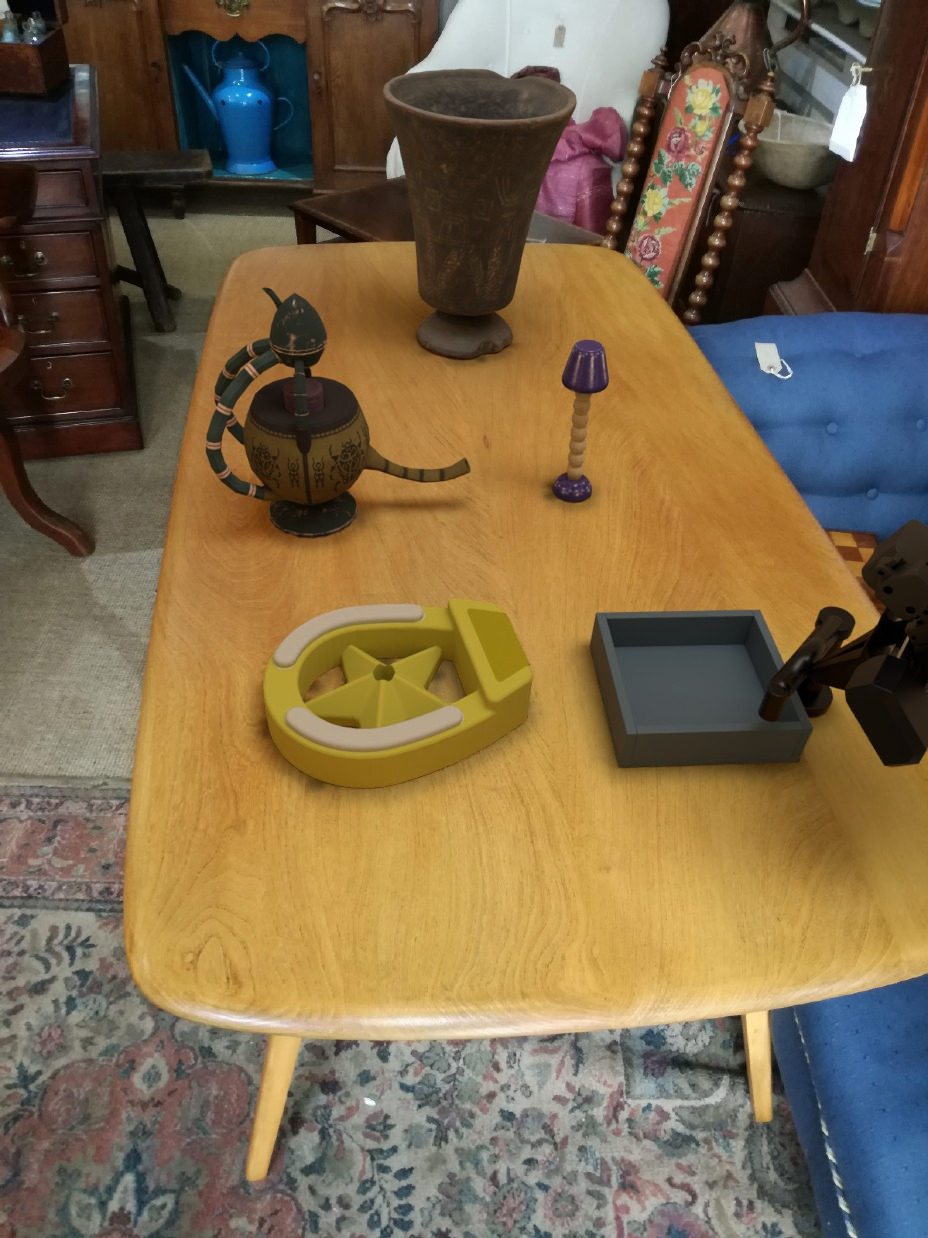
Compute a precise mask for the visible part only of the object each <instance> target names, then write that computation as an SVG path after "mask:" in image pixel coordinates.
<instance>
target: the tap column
mask: <svg viewBox="0 0 928 1238" xmlns="http://www.w3.org/2000/svg"><path fill="white" fill-rule="evenodd" d="M843 644H844V641H836V642H835V643H834V644H833V645H832V647H831V648H830V649H829V650H828V652H827V653H826V654H825V655H824V656H823V658H824V657H825V656H827V655H829V654H831V653H832V652H834V651H836V650H838V649H839V648H841V647H842V646H843ZM796 691H797V693H798V695H799V697H800V700H801V702H802V704H803V706H804V709H805V711H806V713H807V715H808V718H815V717H816V718H817V717H820V716H822V715H824V714H825V713H827V712H828V710H829V709H830V706H831V704H832V702H833V700H834V694H833V691H832V687H830V686H826V685H823V684H819V683H816V682H814V681H813V680H812V679H811V677H810V675H808V676H807V677H806V678H805V680H804V681H803V682H802V683H801V685H800V686H799V687H798V688H797V689H796Z"/></svg>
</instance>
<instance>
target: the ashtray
mask: <svg viewBox="0 0 928 1238" xmlns="http://www.w3.org/2000/svg"><path fill="white" fill-rule="evenodd" d="M393 658H394V659H395V658H396V659H397V658H401V659H399V660H397V661H395V662H392V663H390V664H385V663H383V662H382V661H380V660H379V659H393ZM443 660H445V661H446V660H447V661H452V662H453V665H454V667H455V671H456V672H457V675H458V678H459V681H460V683H461V685H462V688H463V690H464V693H465V696H464V697H462V698H460V699H458V700H456V701H455V702H451V703H448V702H447V701H445V700H444V699H442V698H440V697H438V696H437V695H435V694H434V693H432V692H430V691H429V690H428V688H429V686H430V684H431V682H432V680H433V679H434V677H435V675H436V673H437V671H438V669H439V667H440V665H441V663H442V661H443ZM529 661H530V660H529V659H528V657H527V655H526V653H525V650H524V648H523V647H522V644H521V641H520V639H519V638H518V635H517V634H516V631H515V629H514V627H513V625H512V623H511V620H510V619H509V616H508V615H507V613H506V612H505V611H504V609H503V608H502V607H501V606H500V605H499V604H497V603H495V602H491V601H490V602H489V601H482V600H481V601H480V600H474V599H466V598H461V597H460V598H458V597H452V598H450V599H449V600H448V601H447V607H444V606H443V607H442V606H427V605H418V604H416V603H384V604H380V603H379V604H366V605H355V606H354V605H353V606H347V607H343V608H342V607H341V608H338V609H334V610H330V611H327V612H324V613H322V614H319V615H317V616H315V617H312V618H311V619H308V620H307V621H305V622H303V623H302V624H301V625H299V626H298V627H296V628H295V629H293V631H292V632H290V633H289V634H288V635H287V636H286V637H285V638H284V639H283V640H282V641H281V642H280V644H279V645H277V647H276V648H275V649H274V651H273V652H272V654H271V656H270V658H269V660H268V662H267V663H266V666H265V670H264V672H263V678H262V693H263V702H264V707H265V715H266V719H267V726H268V729H269V730H268V731H269V734H270V736H271V739H272V741H273V743H274V745H275V746H276V749H277V750H278V751H279V753H280V754H281V755H282V756H283V757H284V758H285V759H286V761H287V762H289V764H291V765H292V766H293V767H295V768H296V769H297V770H298V771H301V772H302V773H304V774H305V775H307V776H309V777H311V778H314V779H315V780H318V781H320V782H323V783H327V784H330V785H334V786H338V787H346V788H353V789H372V788H373V789H375V788H384V787H388V786H389V787H390V786H394V785H398V784H401V783H405V782H408V781H412V780H414V779H417V778H420V777H423V776H426V775H428V774H431V773H435V772H436V771H440V770H442V769H444V768H447V767H449V766H451V765H453V764H456V763H458V762H460V761H462V760H465V759H467V758H468V757H471V756H473V755H474V754H476V753H479V751H482V750H484V749H485V748H487V747H489V746H491V745H492V744H493V743H495V742H497V741H498V740H500V739H502V738H503V737H505V736H506V735H507V734H509V733H510V732H512V731H514V729H516V728H518V727H519V726H520V725H522V724H524V723H525V722H526V721H527V719H528V715H529V707H530V700H531V693H532V686H533V677H534V676H533V675H534V673H533V670H532V668H531V667H530V666H531V663H530V662H529ZM338 666H341V667H342V672H343V675H344V679H345V682H346V683H345V684H344V685H341V686H339V687H337V688H335V689H332V690H330V691H328V692H326V693H324V694H322V695H319V696H317V697H315V698H313V699H311V700H308V701H306V702H304V699H305V697H306V694H307V692H308V691H309V689H310V688H311V686H312V685H313V684H314V683H315V682H316V681H317V680H318V679H319V678H320V677H321V676H322V675H324V674H325V673H326V672H329V671H330V670H332V669H333V668H336V667H338Z"/></svg>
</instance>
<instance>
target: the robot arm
mask: <svg viewBox="0 0 928 1238" xmlns="http://www.w3.org/2000/svg"><path fill="white" fill-rule="evenodd" d="M861 577H862V579H863V581H864V582H865V584H866V586H868V587H869V588H870V589H871V590H873V591H874V595H875V598H876V599H877V600H878V601H879V602H880V603H882V604H883V606H884V607H885V608H884V610H883V611H882V613H881V615H880V617H879V619H878V621H877V624H876V625H874V627H873V628H871V629H870V630H868V631H867V632H865V633H863V634H861V635H860V636H858V637H856V638H855V639H853V640H852V641H850V642H848V643H846V644H844V645H842V646H841V648H839V649H838V650H836V651H834V652H832V653H831V654H829V655H827V656H825V657H824V658H822V659H820V660H819V661H817V662H815V663H813V664H812V666H811V668H810V669H809V670H808V673H809V675H810V677H811V679H812V680H813V681H814V682H816V683H819V684H823V685H826V686H829V687H830V688H832V689H837V690H841V691H844V698H845V703H846V705H847V707H848V708H849V709H850V711H851V713H852V714H853V716H854V719H856V721H857V723H858V725H859V726H860V728H861V730H862V731H863V733H864V735H865V736H866V738H867V739H868V741H869V743H870V744H871V746H872V748H873V750H874V751H875V753H876V755H877V756H878V758H879V760H880V762H881V763H882V766H884V767H886V768H897V767H899V768H900V767H905V766H906V767H907V766H914V765H919V764H920V763H921V761H922V759H923V758H924V756H925V754H926V752H927V750H928V526H927V525H926V524H924V522H922V521H921V520H918V519H910V520H908V521H907V522H906V523H905V524H903V525H902V526H901V527H899V528H898V529H896V531H894V532H893V533H892V534H890V535H889V536H888V537H887V538H885V539H884V540H883V541H881V542H880V543H879V544H878V545H876V547H874V548H873V551H872V554H871V555H870V557H869V559H867V561H866V563H865V564H864V565H863V566H862V568H861Z"/></svg>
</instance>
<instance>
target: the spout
mask: <svg viewBox="0 0 928 1238" xmlns="http://www.w3.org/2000/svg"><path fill="white" fill-rule="evenodd" d="M856 624H857V623H856V619H855V617H854V616H853V614H852V613H851V612H850V611H848V610H846V609H844V608H842V607H839V606H832V605H831V606H825V607H823V608H821V609H820V610H819V612H818V615H817V617H816V619H815V622H814V628H813V631H812V632H810V634H809V635H808V636H807V637H806V639H805V640H804V641H803V642H802V643H801V644H800V645H799V647H798V648H797V649H796V650H795V651H794V653H792V655H791V656H790V657H789V658H788V659H787V660H786V662H784V665H783V667H782V668H781V669H780V670H779V671H778V672H777V674H776V675H775V676H774V677H773V678H772V679H771V681H770V682H769V684H768V686H767V688H766V691H765V694H764V696H763V699H762V701H761V704H760V707H759V709H758V714H759V716H760V717H761V718H762V719H763V720H765V721H768V722H775V721H777V720H778V719H779V718H780V715H781V713H782V710H783V708H784V706H785V703H786V701H787V699H789V698H790V697H791V696H792V694H793V693H794V692H795V691H796V689H797V688H798V687H799V686H800V685H801V683H802V682H803V681H804V680H805V678H806V677H807V676H808V675H809V673H808V670H809V669H810V668H811V666H812V664H813V663H815V662H817V661H819V660H820V659H822V658H823V656H824V655H825V654H826V653H827V652H828V650H829V649H830V648H831V647H832V645H833V644H834V643H835V642H836V641H843V642H844V641H846V640H848V639H850V638H851V635H852V633H853V631H854V628H855V627H856Z"/></svg>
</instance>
